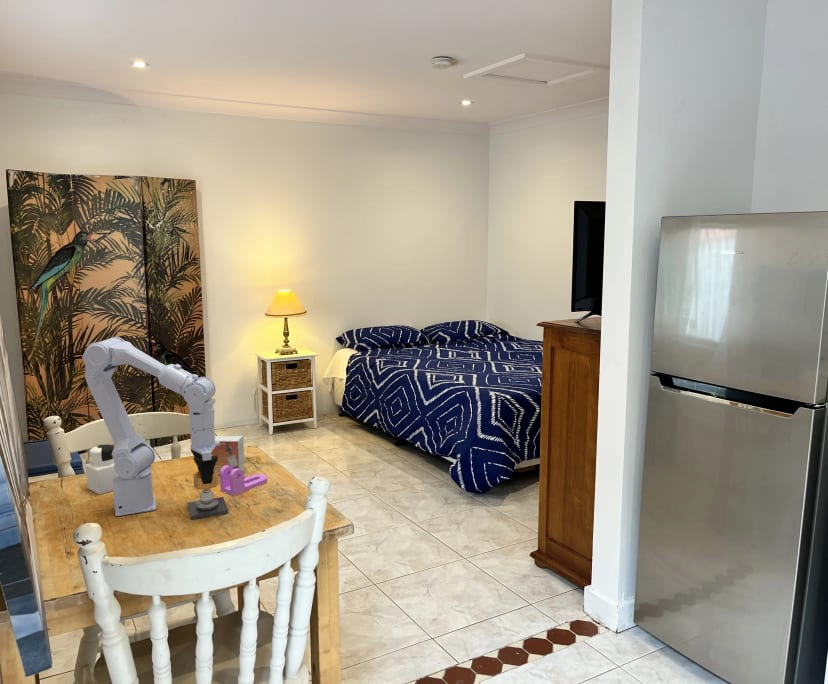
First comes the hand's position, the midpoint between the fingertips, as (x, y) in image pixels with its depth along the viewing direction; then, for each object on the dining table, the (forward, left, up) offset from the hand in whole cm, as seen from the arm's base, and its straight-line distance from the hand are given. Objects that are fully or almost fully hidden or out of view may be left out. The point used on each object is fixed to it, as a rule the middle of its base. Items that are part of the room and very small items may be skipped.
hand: (205, 479), depth 170 cm
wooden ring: (0, 0, -2) cm, 2 cm away
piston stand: (0, 0, -8) cm, 8 cm away
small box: (+9, +25, -8) cm, 28 cm away
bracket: (+12, +12, -9) cm, 19 cm away
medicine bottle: (-24, +27, -8) cm, 37 cm away
